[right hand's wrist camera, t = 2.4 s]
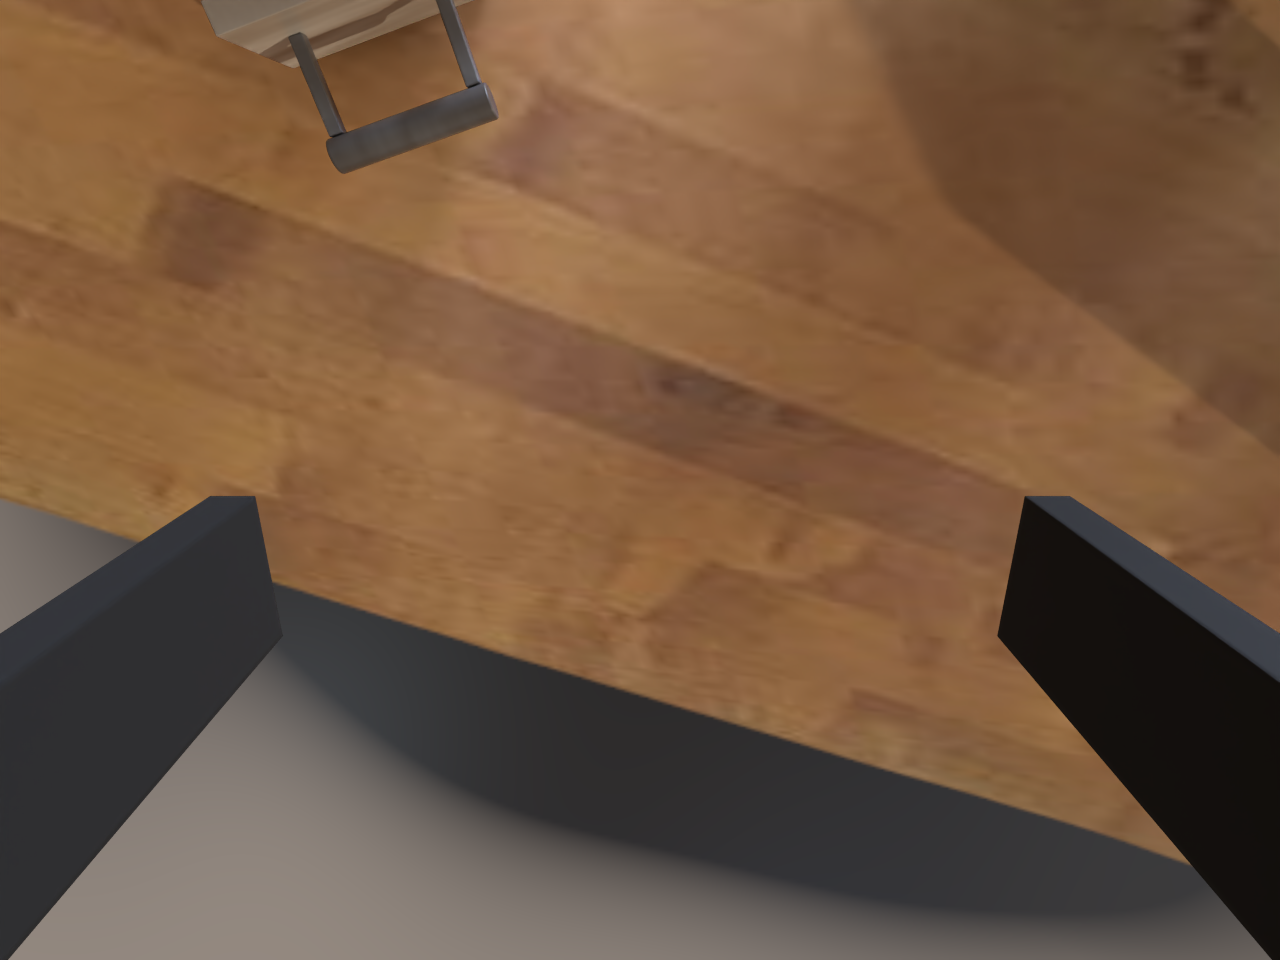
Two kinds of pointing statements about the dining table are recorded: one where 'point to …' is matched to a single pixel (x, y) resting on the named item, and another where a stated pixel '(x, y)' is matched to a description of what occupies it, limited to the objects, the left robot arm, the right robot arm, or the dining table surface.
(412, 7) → the drawer
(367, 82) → the dining table surface
